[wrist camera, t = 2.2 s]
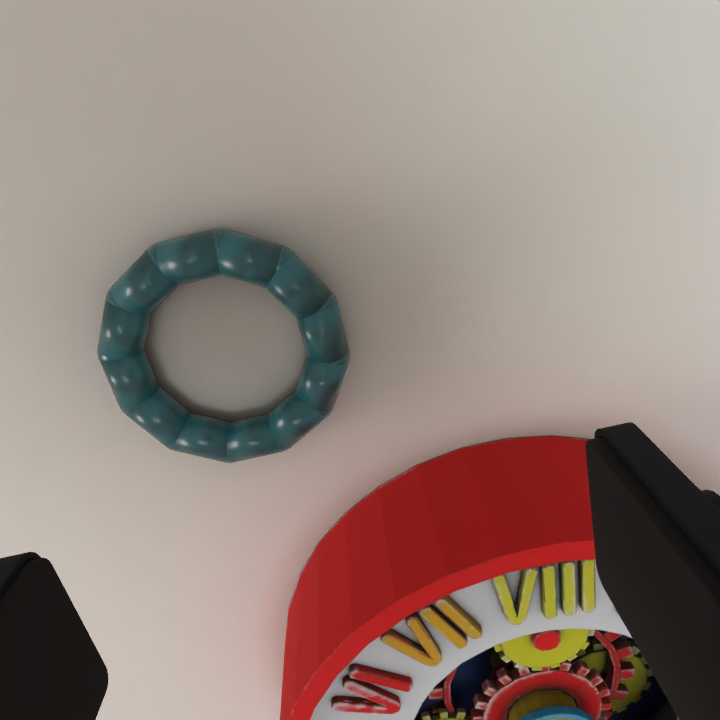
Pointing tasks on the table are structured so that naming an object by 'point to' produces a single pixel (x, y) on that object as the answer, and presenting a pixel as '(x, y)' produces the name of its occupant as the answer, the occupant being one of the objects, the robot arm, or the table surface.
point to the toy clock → (466, 600)
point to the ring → (242, 262)
